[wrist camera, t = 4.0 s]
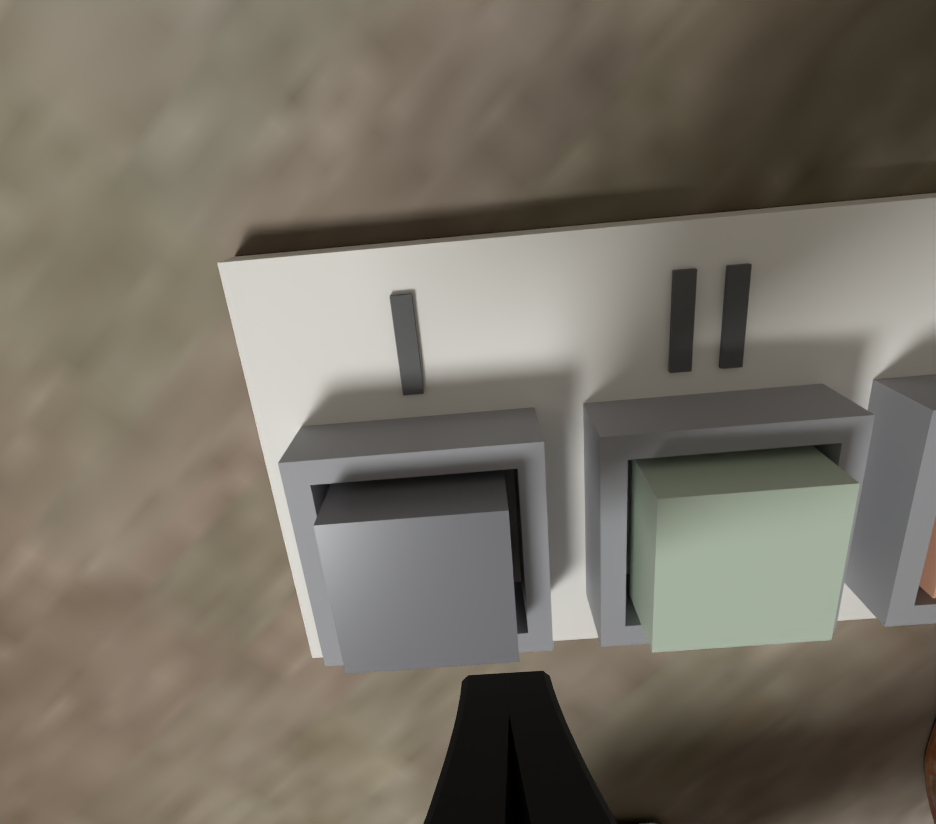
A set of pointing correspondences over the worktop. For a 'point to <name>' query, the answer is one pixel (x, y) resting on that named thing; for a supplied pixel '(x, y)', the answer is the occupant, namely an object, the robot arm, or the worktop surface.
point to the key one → (420, 571)
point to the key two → (739, 547)
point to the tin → (931, 772)
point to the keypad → (604, 385)
